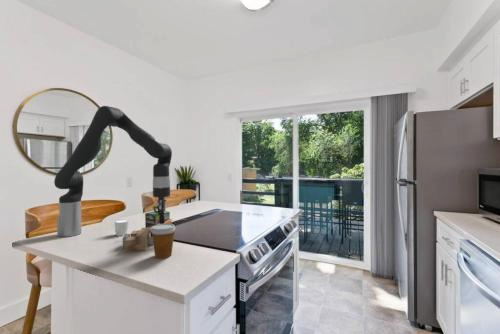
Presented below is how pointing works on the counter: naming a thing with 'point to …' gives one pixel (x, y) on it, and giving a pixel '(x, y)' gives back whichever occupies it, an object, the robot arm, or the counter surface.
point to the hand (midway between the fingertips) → (162, 223)
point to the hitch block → (137, 240)
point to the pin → (149, 240)
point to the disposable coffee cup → (163, 239)
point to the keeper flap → (163, 223)
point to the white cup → (121, 227)
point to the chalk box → (154, 218)
